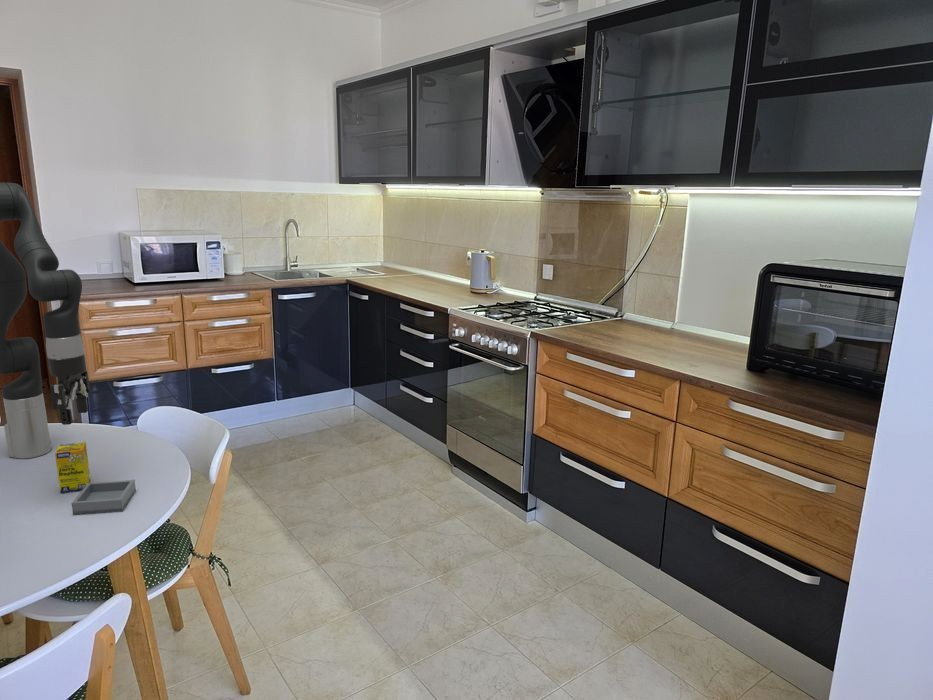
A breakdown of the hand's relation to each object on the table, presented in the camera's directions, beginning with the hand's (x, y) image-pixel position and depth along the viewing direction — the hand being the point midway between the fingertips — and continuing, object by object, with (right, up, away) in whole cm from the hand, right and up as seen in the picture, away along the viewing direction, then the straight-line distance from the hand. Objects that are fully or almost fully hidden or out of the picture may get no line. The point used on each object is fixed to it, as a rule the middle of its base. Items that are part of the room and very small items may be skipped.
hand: (75, 418), depth 156 cm
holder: (+8, -20, -2) cm, 22 cm away
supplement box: (-3, -18, +6) cm, 19 cm away
